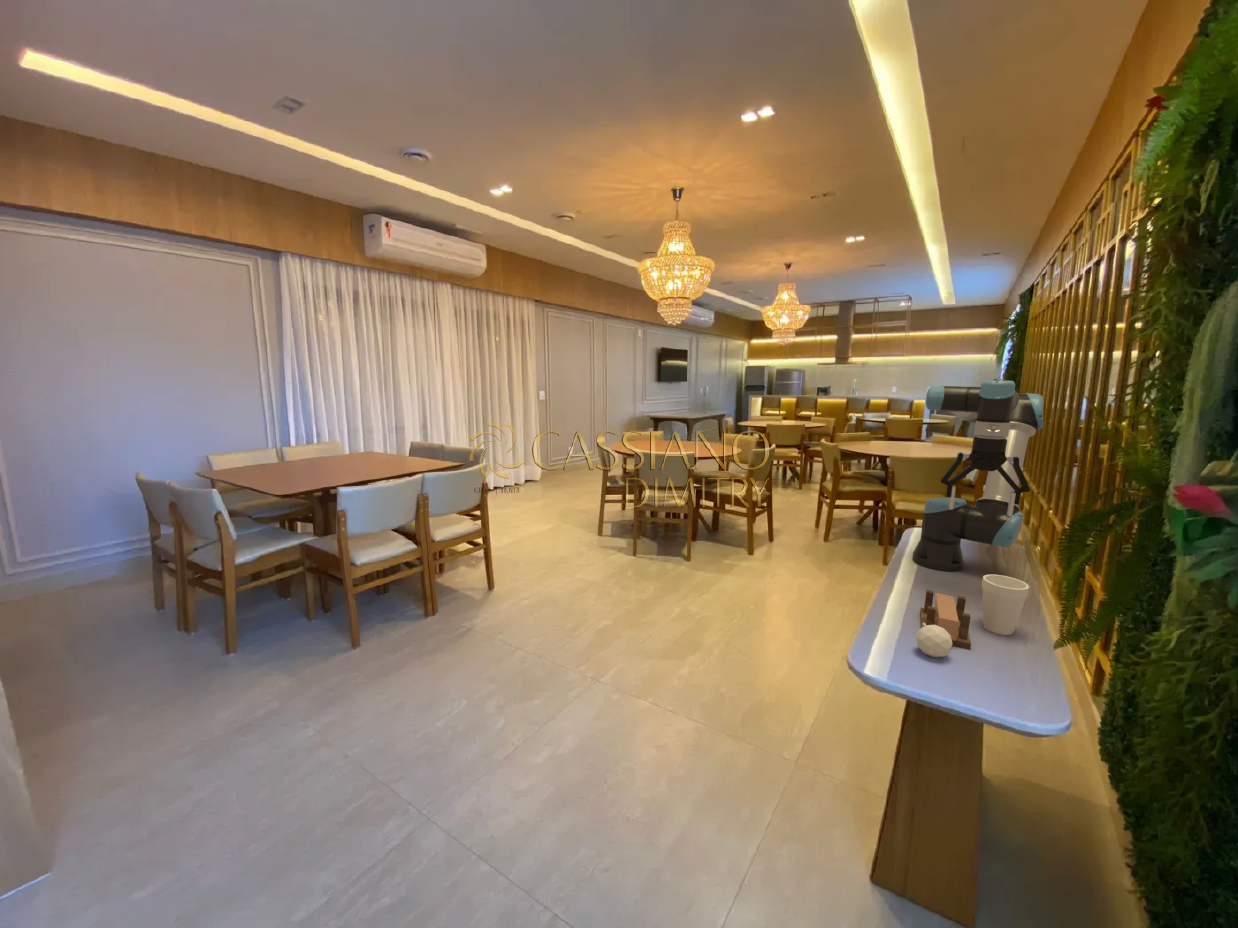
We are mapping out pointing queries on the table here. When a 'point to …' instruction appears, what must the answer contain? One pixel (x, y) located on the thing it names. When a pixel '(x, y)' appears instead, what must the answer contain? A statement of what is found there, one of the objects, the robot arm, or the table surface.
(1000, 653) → the table surface
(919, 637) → the cream rounded egg shape
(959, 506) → the robot arm
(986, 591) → the foam cup
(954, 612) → the clay bar
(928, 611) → the rack
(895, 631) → the table surface
